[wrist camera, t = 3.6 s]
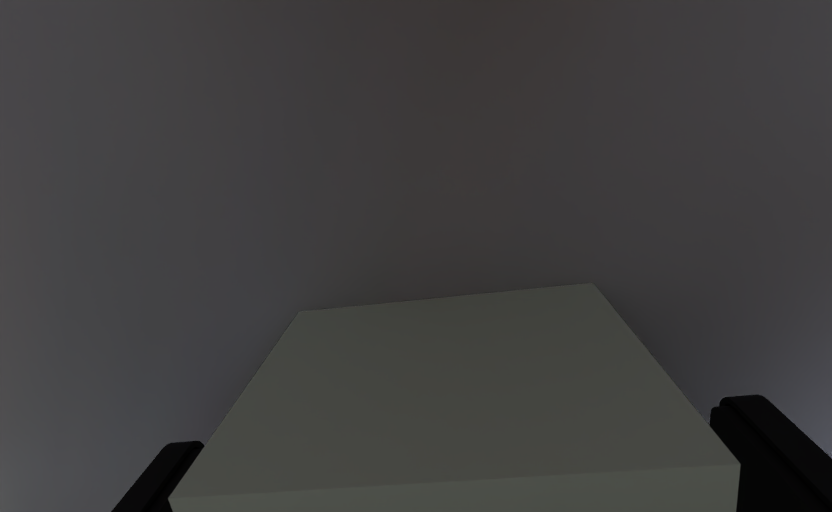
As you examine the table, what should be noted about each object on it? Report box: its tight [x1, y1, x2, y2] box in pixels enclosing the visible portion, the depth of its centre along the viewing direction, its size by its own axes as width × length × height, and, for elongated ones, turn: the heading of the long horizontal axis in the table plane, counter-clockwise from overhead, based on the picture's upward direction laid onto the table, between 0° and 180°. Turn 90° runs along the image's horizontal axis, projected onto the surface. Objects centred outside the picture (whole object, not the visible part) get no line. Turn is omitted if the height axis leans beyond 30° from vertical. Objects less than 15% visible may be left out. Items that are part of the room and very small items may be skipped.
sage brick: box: [168, 283, 741, 512], centre depth 8 cm, size 6×6×5 cm
